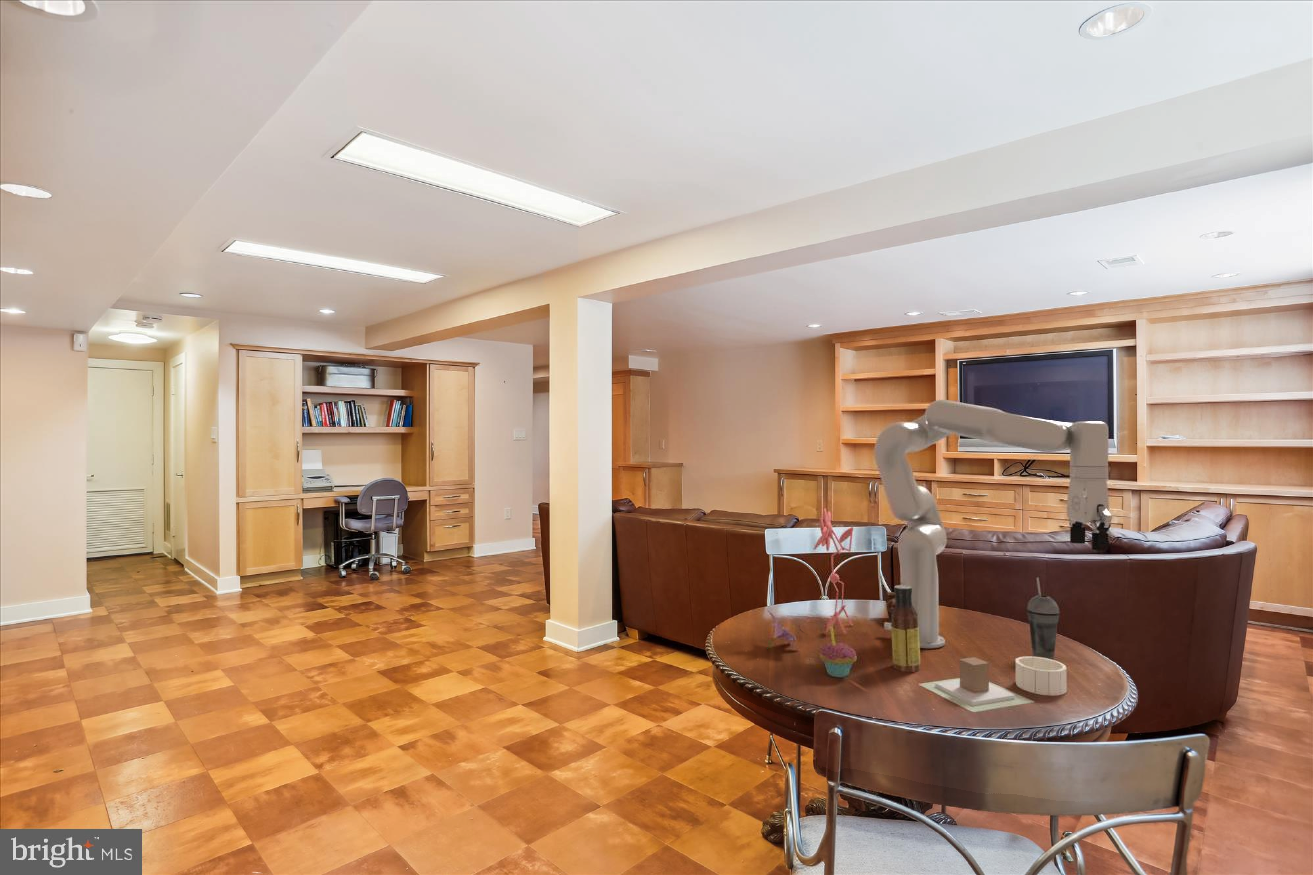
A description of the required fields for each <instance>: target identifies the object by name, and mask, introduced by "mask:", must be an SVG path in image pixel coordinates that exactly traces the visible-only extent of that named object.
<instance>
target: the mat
mask: <svg viewBox="0 0 1313 875" xmlns="http://www.w3.org/2000/svg"><path fill="white" fill-rule="evenodd" d="M959 679H960V677H958V678H956V677H955V678H951V679H950V678H949V679H943V680H938V681H937V680H936V681H931V682H930V681H929V682H924V683H923V682H922V683H918V685H919V686H921V687H923V688H924V689H927V691H928V690H929V691H931V692H932V693H934V694H936V695H938V696H940V697H942V698H944V699H945V700H948V701H950V702H952V703H954V704H956V705H958V706H959V707H962V708H963V709H966V711H967V710H968V711H969V712H972V713H978V712H983V711H990V710H995V709H997V710H998V709H1001V708H1008V707H1012V706H1020V705H1025V704H1026V705H1027V704H1031V703H1035V701H1034V700H1031V699H1029V698H1027V697H1025V696H1022V695H1020V694H1018V693H1016V692H1014V691H1011V690H1008V689H1006V688H1004V687H1002V686H999V685H997V684H995V683H993V682H990V681H989V684H991V685H994V686H996V687H998V688H1000V689H1003V690H1005V691H1007V692H1009V693H1012V694H1014V695H1015V699H1011V700H1005V701H999V702H993V703H987V704H981V705H975V706H973V705H971V704H969V703H967V702H965V701H963V700H961V699H959V698H957V697H955V696H953V695H951V694H949V693H947V692H945V691H943V690H941V689H939V688H937V687H935V683H939V682H946V681H952V680H959Z"/></svg>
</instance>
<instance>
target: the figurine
mask: <svg viewBox="0 0 1313 875" xmlns="http://www.w3.org/2000/svg"><path fill="white" fill-rule="evenodd" d="M831 521H832V514H831V511H827V509H826V507H824V508H823V512H822V518H820V519H819V525H820V526H819V527H820V528H819V529H820V533H821V536H820V537H819V538H818V540H817V541H816V542H815V543H814V547H813V550H816V549H817V548H818V547H819V546H820V545H821V547H825V550H826V552H829V551H830V548H831V540H832V543H833V544H834V547H835V549H836V551H835V552H833V553H832V554H831V556H830V560H831V561H830V562H831V563H830V564H831V574H830V575H829V580H830V582H831V583H832V584H833V586H834V588H835V589H836V598H835V599H836V600H835V608H834V613H833V615H832V616H831V618H830V619H829V621H828V622H827V627H826V629H825V633H826V634H827V633H829V632H830V627H831V626H832V627H834V625H835V624H836V622H838V624H839V626H840V628H841V630H842V632H843V634H844V635H846V634H847V631H846V630H845V628H844V626H843V624H842V622H841V620H840V619H839V616H840V615H841V614H842V613H843V612H844V614H845V616H846V618H847V621H848V623H849V624H850V626H851V627H853V626H854V624H853V623H852V621H851V619H850V617H849V614H848V613H847V611H846V604H844V590H845V589H844V586H845V584H844V582H843V581H840V577H839V575H838V574H837V573H834V556H836V555H837V554H838V555H841V552H842V551H847V552H851V551H852V542H853V540H852V539H853V532H854V527H853V526H851V527H849V528H848V529H846V530H845V531H844V532H843V533H842V534H841V535H840V537H839V538H838V536H837V534H836V532H835V531H834V529H833V525H832V523H831ZM847 539H849V545H848V546H849V547H848V548H846V547H844V546H843V545H842V543H844V542H845V541H846V540H847ZM836 541H837V542H836ZM837 543H838V544H839V546H840V548H839V547H838V544H837ZM837 582H838V583H841V607H840V609H839V611H837V606H838V598H839V590H838V588H837V586H836V583H837ZM809 620H810V619H809ZM809 620H807V622H810V621H809ZM854 621H858V619H857V618H854ZM830 624H831V625H830Z"/></svg>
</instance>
